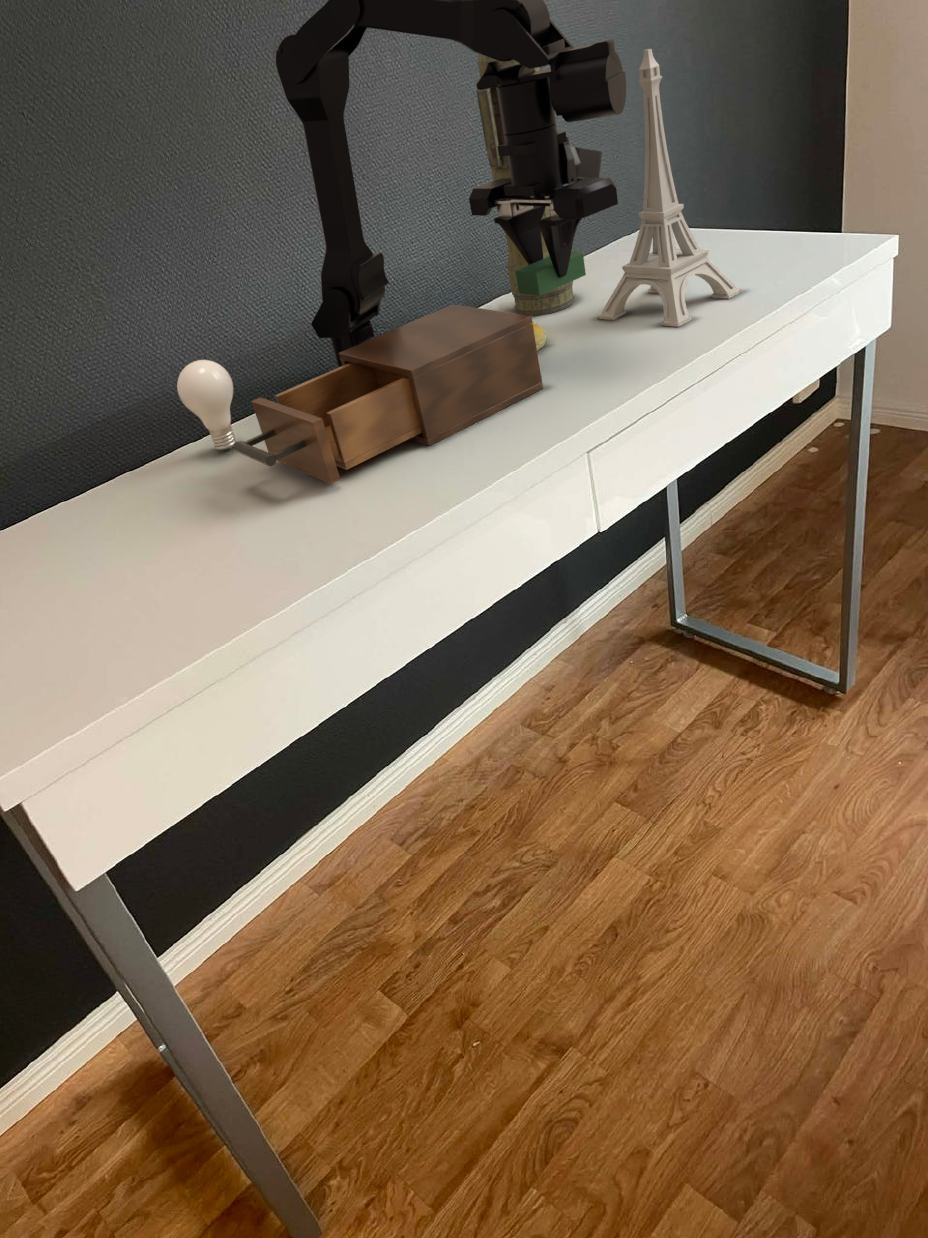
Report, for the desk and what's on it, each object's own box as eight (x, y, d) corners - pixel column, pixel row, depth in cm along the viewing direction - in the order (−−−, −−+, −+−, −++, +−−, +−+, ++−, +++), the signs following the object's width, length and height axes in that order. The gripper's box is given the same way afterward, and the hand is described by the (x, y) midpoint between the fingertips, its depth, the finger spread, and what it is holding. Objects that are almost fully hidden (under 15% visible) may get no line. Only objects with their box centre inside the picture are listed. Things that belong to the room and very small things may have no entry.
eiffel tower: (598, 318, 130) (567, 67, 114) (660, 286, 136) (639, 44, 120) (678, 326, 121) (657, 54, 104) (741, 291, 127) (730, 30, 111)
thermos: (592, 291, 141) (557, 14, 122) (549, 319, 134) (505, 29, 115) (541, 291, 146) (500, 26, 127) (498, 318, 139) (447, 41, 120)
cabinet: (429, 446, 105) (411, 370, 100) (357, 422, 115) (338, 352, 111) (543, 388, 112) (531, 315, 108) (466, 371, 123) (452, 303, 118)
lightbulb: (209, 465, 113) (175, 376, 107) (196, 451, 118) (163, 364, 112) (259, 447, 115) (229, 358, 109) (245, 433, 120) (215, 347, 114)
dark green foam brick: (539, 295, 110) (536, 272, 108) (518, 293, 112) (515, 270, 111) (586, 274, 113) (583, 252, 112) (564, 272, 116) (561, 250, 114)
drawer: (291, 503, 97) (271, 441, 94) (233, 474, 107) (212, 417, 103) (450, 424, 106) (437, 365, 103) (383, 404, 116) (368, 349, 112)
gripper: (645, 105, 100) (658, 258, 109) (526, 114, 114) (546, 250, 122) (569, 132, 96) (589, 290, 104) (454, 138, 109) (480, 278, 117)
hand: (551, 275), depth 112 cm, fingers closed on dark green foam brick, 3 cm apart
